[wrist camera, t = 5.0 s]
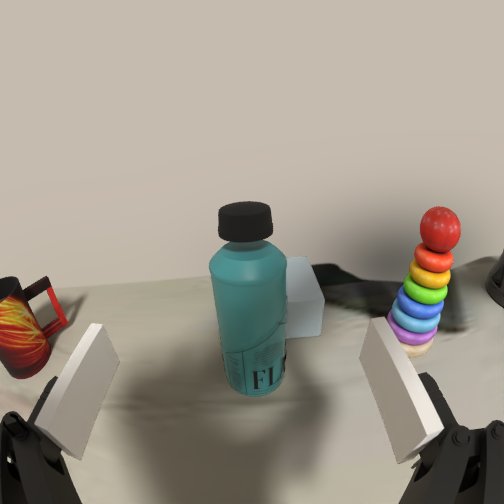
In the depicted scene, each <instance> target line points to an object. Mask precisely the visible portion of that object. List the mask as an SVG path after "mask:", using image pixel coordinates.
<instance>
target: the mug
mask: <svg viewBox="0 0 504 504" xmlns="http://www.w3.org/2000/svg"><path fill="white" fill-rule="evenodd" d="M45 290H47V293H48V295H49V297H50V300H51V302H52V304H53V307H54V309H55V311H56V313H57V315H58V318H56V319H55V320H53V321H52V322H51V323H49V324H48V325H46V326H45V327H44V328H42V329H41V328H40V326H39V324H38V322H37V320H36V318H35V316H34V314H33V312H32V310H31V308H30V306H29V304H28V301H29V300H31V299H32V298H34V297H35V296H37V295H38V294H40V293H41V292H43V291H45ZM67 324H68V322H67V319H66V317H65V315H64V313H63V311H62V308H61V306H60V304H59V303H58V301H57V298H56V296H55V293H54V291H53V289H52V286H51V283H50V281H49V278H48V277H47V276H45V277H43V278H42V279H40V280H38V281H37V282H35V283H33V284H32V285H30V286H29V287H27V288H25V289H24V290H22V288H21V285H20V283H19V280H18V278H16V277H13V276H11V277H5V278H2V279H0V361H1V362H2V364H3V365H4V367H5V368H6V369H7V371H8V372H9V374H10V375H11V376H12V377H14V378H16V379H26V378H29V377H32V376H33V375H35V374H37V373H38V372H39V371H40V370H41V369H42V368H43V367H44V366H45V365H46V363H47V362H48V360H49V357H50V354H51V347H50V344H49V343H48V341H47V338H49V337H50V336H51V335H53V334H54V333H55V332H57V331H58V330H60V329H61V328H62V327H64V326H65V325H67Z"/></svg>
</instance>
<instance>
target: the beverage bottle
mask: <svg viewBox="0 0 504 504" xmlns="http://www.w3.org/2000/svg"><path fill="white" fill-rule="evenodd" d="M218 217H219V226H218V234H219V237H220V238H221V239H223V240H226V241H230V242H229V243H227V244H225V245H224V246H223V247H222V248H221V249H220V250H219V251H218V252H217V253H216V254H215V255H214V256H213V257H212V259H211V260H210V263H209V270H210V273H211V279H212V286H213V292H214V299H215V305H216V312H217V318H218V324H219V330H220V339H221V346H222V351H223V355H222V356H223V357H224V360H223V359H222V360H223V361H224V363H225V369H226V374H227V379H228V381H229V383H230V385H231V386H232V387H233V388H234V389H235V390H236V391H238V392H239V393H241V394H244V395H247V396H263V395H266V394H269V393H271V392H272V391H274V390H275V389H276V388H277V387H278V386H279V385H280V384H281V381H283V380H282V379H283V375H284V372H285V359H286V354H285V346H286V342H285V330H286V323H287V322H286V320H287V319H286V313H287V310H286V298H287V300H288V296H286V284H287V283H286V268H287V259H286V257H285V255H284V254H283V253H282V252H281V251H280V250H279V249H278V248H277V247H275V246H274V245H272V244H271V243H270V242H268V241H264V240H263V239H266V238H268V237H269V236H271V235H272V233H273V223H272V217H271V209H270V207H269V206H268V205H267V204H264V203H261V202H251V201H248V202H237V203H232V204H228V205H225V206H223V207H221V208H220V209H219V214H218ZM287 288H288V287H287ZM287 304H288V303H287ZM287 314H288V313H287ZM287 317H288V316H287ZM287 321H288V320H287ZM286 335H287V334H286ZM286 339H287V338H286ZM286 347H287V346H286ZM224 371H225V370H224ZM284 377H285V376H284Z"/></svg>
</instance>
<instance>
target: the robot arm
mask: <svg viewBox="0 0 504 504" xmlns="http://www.w3.org/2000/svg"><path fill="white" fill-rule="evenodd" d="M486 288H487V290H488V292H489V294H490V295H491V296H492V298H493V299H494V300H495V301H496V302H497V303H499V304H500V305H501V306H503V307H504V250H503V253H502V254H501V256H500V257H499V259H498V261H497V262H496V264H495V265H494V267H493V268H492V270H491V271H490V273H489V276H488V278H487V281H486ZM359 359H360V361H361V364H362V366H363V369H364V371H365V374H366V376H367V379H368V381H369V384H370V387H371V389H372V392H373V394H374V397H375V400H376V403H377V405H378V408H379V411H380V413H381V416H382V419H383V422H384V425H385V428H386V431H387V433H388V436H389V439H390V442H391V445H392V448H393V452H394V455H395V458H396V461H397V464H400V463H403V462H406V461H409V460H411V459H413V458H415V457H416V456H417V455H418V454H420V457H421V458H420V459H419V460H418V461H417V462H416V463H415V464H413V466H412V467H411V468H412V469H413V468H415V467H416V469H415V471H414V473H413V476H412V478H411V480H410V482H409V484H408V486H407V488H406V490H405V492H404V494H403V496H402V498H401V500H400V502H399V504H504V423H503V422H502V421H499V420H495V421H492V422H491V423H490V424H489V425H488V426H487V427H486V428H481V429H474V430H469V429H468V428H467V427H465V426H460V425H459V424H458V423H457V421H456V420H455V418H454V416H453V414H452V412H451V410H450V408H449V406H448V404H447V402H446V400H445V398H444V397H443V394H442V393H441V391H440V390H439V387H438V385H437V383H436V382H435V380H434V379H433V378H432V377H431V376H430V375H429V374H428V373H427V372H425V373H421V374H417V373H416V371H415V369H414V367H413V365H412V363H411V362H410V360H409V358H408V356H407V354H406V353H405V351H404V349H403V347H402V346H401V344H400V342H399V341H398V339H397V337H396V335H395V334H394V332H393V330H392V329H391V327H390V325H389V324H388V322H387V320H386V319H385V317H378V318H371V319H370V323H369V326H368V330H367V333H366V337H365V340H364V344H363V347H362V350H361V354H360V357H359ZM119 363H120V361H119V359H118V357H117V354H116V352H115V350H114V348H113V346H112V344H111V341H110V339H109V337H108V335H107V332H106V330H105V328H104V325H103V324H93V323H92V324H91V325H90V327H89V328H88V330H87V331H86V333H85V334H84V336H83V337H82V339H81V341H80V342H79V344H78V345H77V347H76V349H75V350H74V352H73V353H72V355H71V357H70V358H69V360H68V362H67V363H66V365H65V367H64V369H63V370H62V372H61V374H60V375H59V377H56V376H55V377H54V378H52V379H51V380H50V381H49V382H48V383H47V385H46V387H45V389H44V392H42V394H41V396H40V399H39V400H38V402H37V404H36V405H35V407H34V409H33V411H32V413H31V415H30V417H29V419H28V421H27V422H26V421H25V420H24V419H23V418H22V417H21V416H20V415H19V414H18V413H17V412H14V411H12V412H8V413H7V414H5V415H4V417H3V418H2V421H1V423H0V504H82V502H81V500H80V498H79V496H78V494H77V492H76V489H75V487H74V485H73V482H72V480H71V477H70V475H69V472H68V469H67V467H66V464H65V461H64V458H63V456H62V455H61V454H60V453H61V450H63V451H64V452H65V453H66V454H67V455H69V456H71V457H74V458H76V459H79V460H81V459H82V456H83V454H84V451H85V448H86V445H87V442H88V439H89V436H90V434H91V431H92V428H93V426H94V423H95V420H96V418H97V415H98V413H99V410H100V408H101V405H102V403H103V400H104V398H105V395H106V393H107V390H108V388H109V386H110V383H111V381H112V379H113V376H114V374H115V372H116V370H117V367H118V365H119ZM7 456H8V457H9V458H10V459H11V463H9V462H8V461H7Z"/></svg>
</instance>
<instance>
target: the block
mask: <svg viewBox="0 0 504 504" xmlns="http://www.w3.org/2000/svg"><path fill="white" fill-rule="evenodd" d="M286 259H287V268H286V283H287V284H286V296H288V300H287V298H286V310H287V313H288V314H287V313H286V319H287V320H288V321H287V320H286V322H287V323H286V330H285V339H286V338H300V337H312V336H320V333H321V326H322V319H323V311H324V303H325V299H324V296H323V294H322V291H321V289H320V286H319V284H318V282H317V279H316V277H315V274H314V272H313V269H312V267H311V265H310V262H309V260H308V258H307V256H302V257H286ZM287 287H288V288H287ZM287 303H288V304H287ZM287 316H288V317H287ZM286 334H287V335H286Z"/></svg>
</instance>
